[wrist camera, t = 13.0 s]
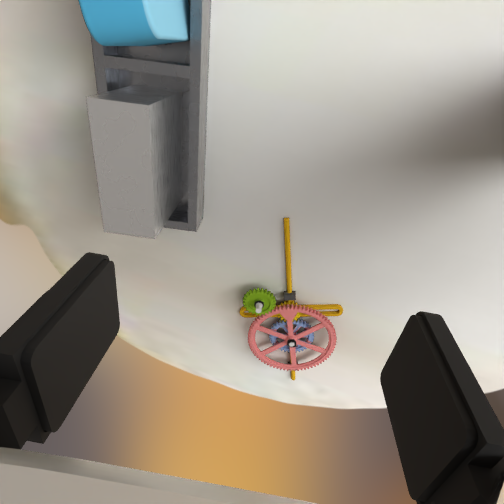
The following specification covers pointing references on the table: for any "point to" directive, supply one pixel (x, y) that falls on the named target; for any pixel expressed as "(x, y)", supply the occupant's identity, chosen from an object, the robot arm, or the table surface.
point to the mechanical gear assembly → (288, 321)
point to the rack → (152, 131)
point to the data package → (137, 21)
